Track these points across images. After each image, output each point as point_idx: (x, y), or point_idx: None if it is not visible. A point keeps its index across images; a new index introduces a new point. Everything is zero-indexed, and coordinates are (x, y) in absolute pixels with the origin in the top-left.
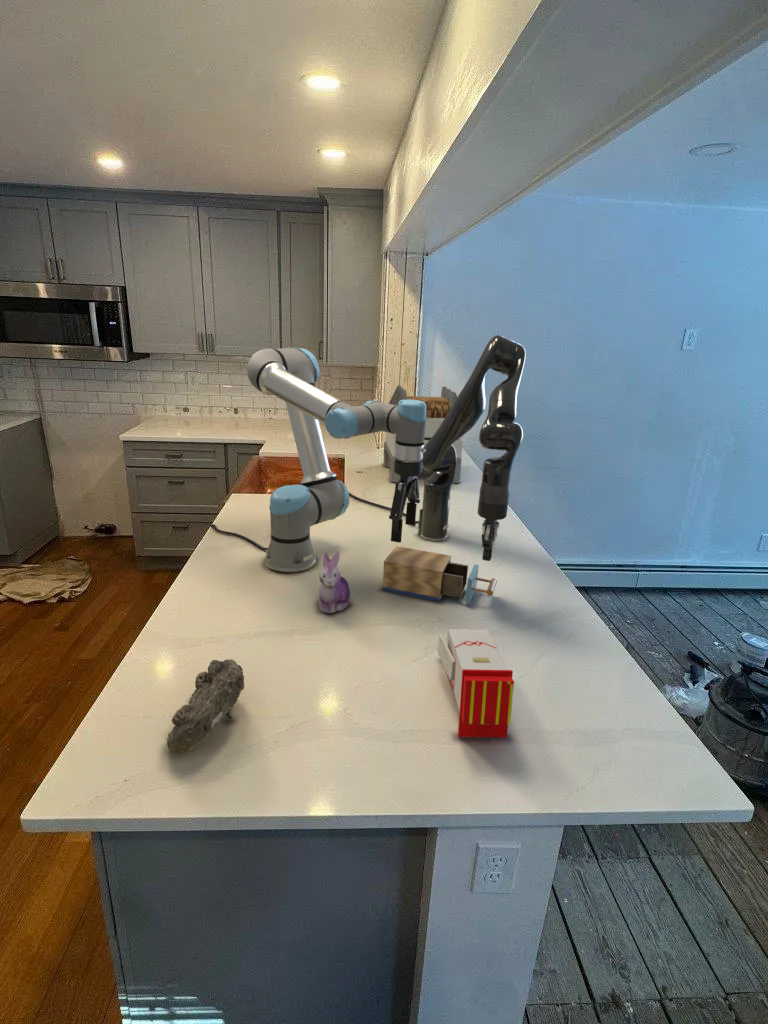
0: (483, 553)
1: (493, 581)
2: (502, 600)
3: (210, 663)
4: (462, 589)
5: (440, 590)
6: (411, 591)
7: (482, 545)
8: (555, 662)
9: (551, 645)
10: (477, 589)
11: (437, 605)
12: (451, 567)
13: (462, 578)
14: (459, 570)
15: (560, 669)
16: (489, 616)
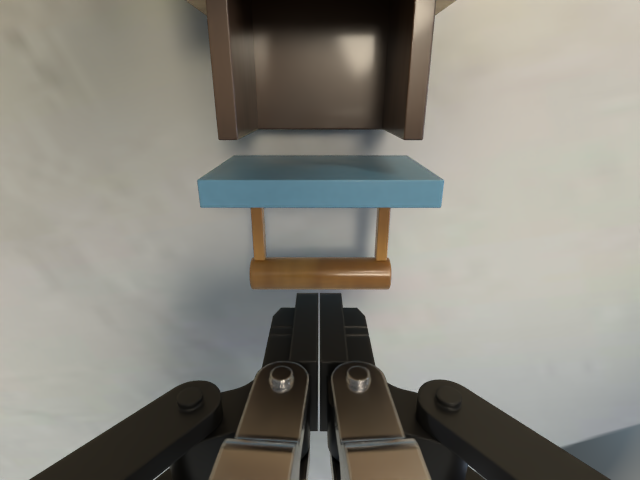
0: (292, 324)
1: (353, 282)
2: None
3: None
4: (310, 124)
5: (198, 9)
6: None
7: (133, 417)
8: (46, 448)
9: None
10: (251, 217)
11: (173, 23)
12: (405, 16)
13: (220, 139)
14: (399, 81)
15: (22, 459)
16: (198, 259)
